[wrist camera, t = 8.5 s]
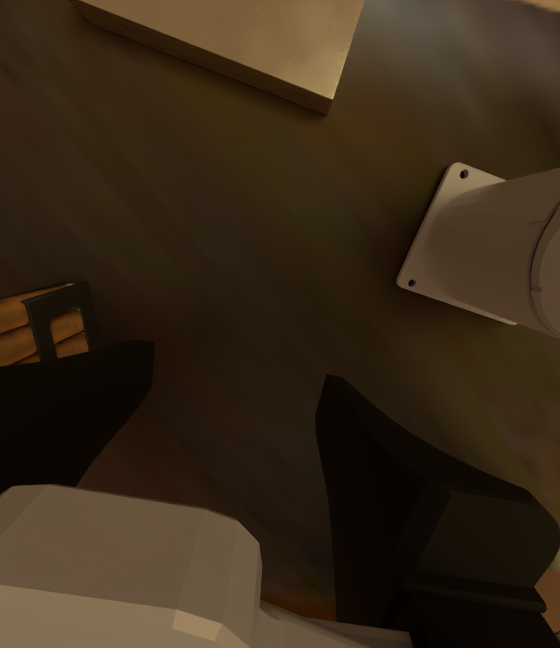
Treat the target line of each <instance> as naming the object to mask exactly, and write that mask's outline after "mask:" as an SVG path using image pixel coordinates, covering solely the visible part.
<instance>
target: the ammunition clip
mask: <svg viewBox="0 0 560 648" xmlns="http://www.w3.org/2000/svg"><path fill="white" fill-rule="evenodd" d="M27 324H28V325H27ZM24 325H25V326H24ZM0 333H3V334H0V367H1V366H10V365H19V364H26V363H33V362H39V361H45V360H51V359H56V358H61V357H66V356H70V355H74V354H79V353H83V352H88V351H92V350H96V349H100V348H101V344H100V339H99V334H98V329H97V324H96V319H95V314H94V309H93V304H92V299H91V293H90V288H89V283H88V282H84V281H61V282H58V283H54V284H50V285H47V286H43V287H40V288H36V289H32V290H29V291H25V292H21V293H18V294H14V295H11V296H7V297H3V298H0Z"/></svg>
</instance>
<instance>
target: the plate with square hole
mask: <svg viewBox="0 0 560 648" xmlns="http://www.w3.org/2000/svg"><path fill="white" fill-rule="evenodd" d="M69 1H70V2H71V3H72V4H73V5H74V6H75V7H76V8H77V9H78V11H79V12H80V13H81V14H82V15H83V16H84V17H85V18H86V19H87V20H88V21H89V23H90V24H92V25H95V26H97V27H100V28H102V29H105V30H108V31H110V32H113V33H115V34H118V35H121V36H123V37H126V38H128V39H131V40H133V41H136V42H139V43H141V44H144V45H146V46H149V47H152V48H154V49H157V50H159V51H162V52H164V53H167V54H170V55H172V56H175V57H177V58H180V59H183V60H185V61H188V62H190V63H193V64H196V65H198V66H201V67H203V68H206V69H208V70H211V71H214V72H216V73H219V74H221V75H224V76H227V77H229V78H232V79H234V80H237V81H239V82H242V83H245V84H247V85H250V86H252V87H255V88H258V89H260V90H263V91H265V92H268V93H270V94H273V95H276V96H278V97H281V98H283V99H286V100H289V101H291V102H294V103H296V104H299V105H302V106H304V107H307V108H309V109H312V110H314V111H317V112H320V113H322V114H325V115H327V114H328V112H329V109H330V106H331V103H332V100H333V97H334V94H335V91H336V88H337V85H338V82H339V79H340V76H341V72H342V69H343V66H344V63H345V60H346V57H347V54H348V51H349V48H350V44H351V41H352V38H353V35H354V32H355V29H356V26H357V23H358V20H359V16H360V13H361V10H362V7H363V4H364V1H365V0H69Z"/></svg>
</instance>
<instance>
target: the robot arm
mask: <svg viewBox="0 0 560 648" xmlns="http://www.w3.org/2000/svg"><path fill="white" fill-rule="evenodd" d="M461 171H463V172H464V174H465V176H464V178H463V179H462V178H460V172H461ZM410 280H413V284H412V285H411V286H409V285H408V282H409V281H410ZM396 284H397V285H398V286H399V287H401V288H404V289H407V290H410V291H413V292H416V293H419V294H422V295H425V296H427V297H430V298H433V299H436V300H439V301H442V302H445V303H448V304H451V305H454V306H457V307H460V308H463V309H466V310H469V311H472V312H475V313H477V314H480V315H483V316H486V317H489V318H492V319H495V320H498V321H501V322H504V323H507V324H510V325H516V324H521V325H523V326H526V327H529V328H531V329H534V330H537V331H539V332H542V333H545V334H547V335H550V336H553V337H555V338H558V339H560V168H556V169H552V170H548V171H544V172H540V173H536V174H532V175H528V176H524V177H520V178H516V179H512V180H508V181H506V180H504V179H501V178H499V177H496V176H494V175H491V174H488V173H486V172H483V171H481V170H478V169H476V168H473V167H470V166H468V165H465V164H463V163H459V162H457V163H454V164H451V165H450V166H449V167H448V168H447V169H446V171H445V174H444V176H443V178H442V180H441V182H440V185H439V187H438V189H437V191H436V193H435V196H434V198H433V200H432V202H431V204H430V206H429V209H428V211H427V213H426V215H425V217H424V220H423V222H422V224H421V226H420V228H419V230H418V233H417V235H416V237H415V239H414V241H413V244H412V246H411V248H410V250H409V252H408V254H407V257H406V259H405V261H404V263H403V265H402V268H401V270H400V272H399V274H398V276H397V279H396ZM153 356H154V342H149V341H143V340H133V341H128V342H124V343H119V344H115V345H112V346H108V347H104V348H100V349H96V350H92V351H88V352H83V353H79V354H74V355H70V356H66V357H61V358H56V359H51V360H45V361H39V362H33V363H26V364H19V365H10V366H1V367H0V648H560V631H558V632H555V633H554V632H553V631H552V629H551V628H550V626H549V625H548V623H547V622H546V621H545V619H544V618H543V616H542V615H541V613H544V612H545V611H546V610H547V608H546V604H545V602H544V601H543V599H542V598H541V597H540V595H539V594H538V592H537V591H536V589H535V588H534V585H535V584H536V583H537V582H538V580H539V579H540V577H541V576H542V575H543V573H544V572H545V571H546V569H547V568H548V567H549V565H550V564H551V563H552V561H553V560H554V558H555V556H556V554H557V552H558V551H559V547H560V529H559V525H558V523H557V522H556V520H555V519H554V518H553V517H552V515H551V514H550V513H549V512H548V511H547V510H546V509H545V508H544V507H543V506H542V505H541V504H540V503H539V502H538V501H537V500H536V498H535V497H534V496H533V495H532V494H531V493H530V492H529V491H527V490H526V489H524V488H521V487H519V486H516V485H514V484H512V483H509V482H507V481H504V480H502V479H499V478H497V477H495V476H492V475H490V474H487V473H485V472H483V471H481V470H478V469H476V468H474V467H472V466H470V465H468V464H466V463H464V462H462V461H460V460H458V459H456V458H454V457H452V456H450V455H448V454H446V453H444V452H442V451H440V450H439V449H437V448H435V447H433V446H432V445H430V444H428V443H426V442H425V441H423V440H421V439H420V438H418V437H417V436H415V435H413V434H412V433H410V432H409V431H407V430H406V429H404V428H403V427H401V426H400V425H399V424H397V423H396V422H394V421H393V420H392V419H390V418H389V417H388V416H387V415H385V414H384V413H383V412H381V411H380V410H379V409H378V408H377V407H375V406H374V405H373V404H372V403H371V402H369V401H368V400H367V399H366V398H365V397H364V396H363V395H362V394H360V393H359V392H358V391H357V390H356V389H355V388H354V387H353V386H352V385H350V384H349V383H348V382H347V381H346V380H344V379H343V378H342V377H338V376H333V375H326V379H325V382H324V386H323V389H322V393H321V397H320V400H319V404H318V407H317V411H316V414H315V421H316V437H317V443H318V448H319V453H320V458H321V463H322V468H323V473H324V478H325V483H326V488H327V495H328V502H329V512H330V523H331V534H332V548H333V561H334V578H335V595H336V617H337V622H333V621H326V620H319V619H312V618H305V617H301V616H299V615H296V614H294V613H291V612H289V611H286V610H284V609H281V608H279V607H276V606H274V605H271V604H269V603H266V602H264V601H261V600H260V589H261V574H262V563H261V555H260V547H259V542H258V541H257V540H256V539H255V538H254V537H253V536H252V535H251V534H250V533H249V532H248V531H247V530H246V529H245V528H244V527H243V526H242V525H241V524H240V523H239V522H238V521H237V520H236V519H235V518H232V517H229V516H227V515H224V514H221V513H219V512H216V511H213V510H210V509H208V508H203V507H197V506H191V505H184V504H178V503H172V502H165V501H159V500H153V499H146V498H140V497H134V496H127V495H121V494H115V493H108V492H102V491H96V490H89V489H83V488H77V487H75V486H76V485H77V484H78V482H79V481H80V479H81V478H82V476H83V475H84V474H85V472H86V471H87V469H88V468H89V466H90V465H91V463H92V462H93V461H94V460H95V458H96V457H97V456H98V454H99V453H100V452H101V451H102V449H103V448H104V447H105V446H106V445H107V444H108V442H109V441H110V440H111V439H112V438H113V437H114V435H115V434H116V433H117V432H118V431H119V430H120V428H121V427H122V426H123V425H124V424H125V423H126V421H127V420H128V419H129V418H130V417H131V415H132V414H133V413H134V412H135V411H136V409H137V408H138V407H139V406H140V404H141V403H142V401H143V400H144V398H145V397H146V395H147V393H148V392H149V390H150V388H151V387H152V373H153Z"/></svg>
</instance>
